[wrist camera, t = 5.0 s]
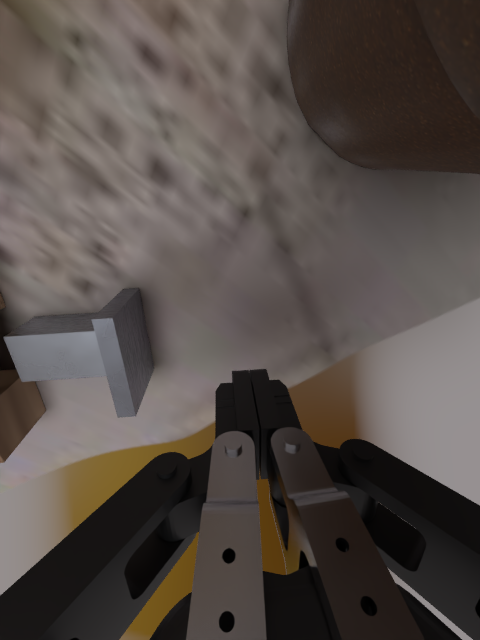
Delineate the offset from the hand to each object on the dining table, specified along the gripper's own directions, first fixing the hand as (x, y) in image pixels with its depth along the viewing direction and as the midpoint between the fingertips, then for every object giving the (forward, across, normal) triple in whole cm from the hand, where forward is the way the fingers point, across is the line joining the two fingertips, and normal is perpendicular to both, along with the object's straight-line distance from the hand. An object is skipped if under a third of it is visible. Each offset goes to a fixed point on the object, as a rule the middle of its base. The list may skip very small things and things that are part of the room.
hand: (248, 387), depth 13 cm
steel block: (+8, +10, +1) cm, 13 cm away
